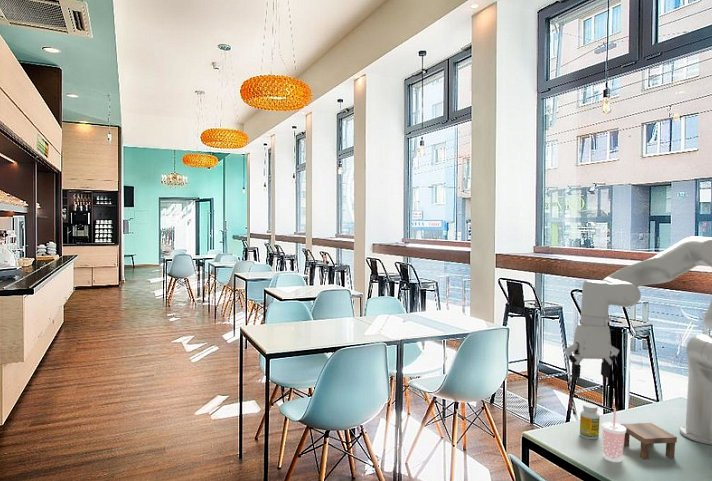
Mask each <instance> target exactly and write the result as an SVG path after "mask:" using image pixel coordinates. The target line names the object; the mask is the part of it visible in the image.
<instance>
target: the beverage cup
mask: <svg viewBox="0 0 712 481" xmlns="http://www.w3.org/2000/svg"><path fill="white" fill-rule="evenodd" d="M616 412H617V409H616V408H613V420H612V421H613V422H608V421H607V422H602V423H601V429H602V449H603V450H602V455H603V458H604V459H605V460H606V461H609V462H612V463H613V462H614V463H621V462H622V460H623V454H624V438H625V433H626V427H624V426H623V425H621V424H620V423H617V422H616V417H617V416H616Z"/></svg>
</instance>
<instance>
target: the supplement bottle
mask: <svg viewBox="0 0 712 481" xmlns="http://www.w3.org/2000/svg"><path fill="white" fill-rule="evenodd" d="M582 409H583V410H581V412H580V416H579V417H580V418H579V419H580V420H579V434H580V436H581V437H582V438H583V439H587V440H597V439H599V435H600V419H601V418H600V417H601V416H600V413H598V411H599V410H598V405H596V404H593V403H588V402H587V403H586V402H585V403H583V404H582Z"/></svg>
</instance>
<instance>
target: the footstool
mask: <svg viewBox="0 0 712 481" xmlns="http://www.w3.org/2000/svg"><path fill="white" fill-rule="evenodd" d="M620 425H623V426H624V427H626V433H625V438H624V446H623V448H624V447H625V448H626V447H630V439H631V437H632V438H634V439H636V440H637V441H639V442H640V451H639V452H640V453H639V457H640V458H641V459H642V460H649V459H650V446H654V445H655V444H665V457H667V458H669V459H675V455H676V454H675V451H676V443H677V441H678V437H677V436H675V435H674V434H672V433H670V432H668V431H667V430H665V429H664V428H661V427H659V426H658V425H656V424H654V423H652V422H638V423H621V424H620Z"/></svg>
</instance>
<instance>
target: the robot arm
mask: <svg viewBox="0 0 712 481" xmlns="http://www.w3.org/2000/svg"><path fill="white" fill-rule="evenodd" d="M697 266H705V267H711V268H712V237H711V236H710V237H709V236H689V237H686V238H683V239H682V240H680V241H679V242H677V243H675V244H673V245H671V246H670V247H668V248H666V249H664V250H663V251H661V252H659V253H658V254H656V255H654V256H652V257H649V258H648V259H644V260H641V261H638V262H637V263H633V264H630V265H627V266H625V267H623V268H620V269H618V270H617V271H614V272H613V273H611V274H609V275H608V276H606V277H605V278H603V279H602V280H601V279H600V280H597V279H587V280H584V281H583V284H582V289H581V290H582V292H581V293H582V294H581V306H580V307H581V308H580V310H581V311H580V323H577V325H576V328H575V332H574V336H573V343H572V344H571V345H570V346H568V347H566V348H565V349H564V352H565V354H566V357H567V359H568V360H569V361H570V363H571V375H572V376H573V377H575V378H576V379H580V377H581V368H582V366H581V362H582V361H583V360H584V359H585V360H592V359H593V360H602V361H601V365H600V366H601V367H600V375H601V376H603V377H605V378H607V379H608V378H610V374H611V366H612V365H613V362H614V361H616V359H617V357H618V354H619V353H620V349H618V348H616V347H615V346H613V345H612V343H611V342H612V340H611V330H610V327H609V323H610V322H612V318H611V317H609V310H610V309H609V306H617V307H622V308H629V307H633V306H636V305H637V304H638V303H639V302H640V300H641V294H642V293H641V290H640V289H639V288H640V287H643V286H648V285H657V284H658V285H659V284H664V283H669V282H671V281H673V280H675V279H676V278H678V277H679V276H682V275H683V274H685V273H687V272H689V271H690V270H692V269H694V268H697ZM704 315H705V316H704V319H703V321H704V322H703V323H704V325H705V326H706V328H707V329H709V330H710V331H712V299H711V300H710V302H709V306H708V307H707V310H706V312H705V314H704ZM685 351H686V352H685V353H686V360H687V367H688V377H687V380H688V382H687V392H686V393H687V396H686V413H685V414H686V415H685V416H686V417H685V424H683V425H681V426H680V427H679V433H680V434H681V436H683V437H685V438H688V439H689V440H692V441H695V442H698V443H701V444H704V445H705V444H706V445H711V446H712V335H711V334H706V333H705V334H703V333H702V334H696V335H694V336H692V337H691V338H690V339H689V340H688V342H687V344H686V349H685Z"/></svg>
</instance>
